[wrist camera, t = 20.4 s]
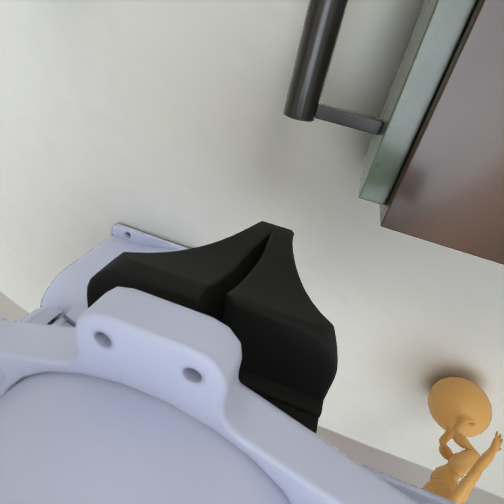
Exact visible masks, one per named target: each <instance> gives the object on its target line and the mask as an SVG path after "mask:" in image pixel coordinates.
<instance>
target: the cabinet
mask: <svg viewBox="0 0 504 504" xmlns="http://www.w3.org/2000/svg"><path fill="white" fill-rule="evenodd" d="M380 222H381V226H382V227H385V228H388V229H392V230H395V231H398V232H401V233H404V234H408V235H411V236H414V237H417V238H420V239H424V240H427V241H430V242H433V243H436V244H440V245H443V246H446V247H449V248H452V249H456V250H459V251H462V252H465V253H468V254H472V255H475V256H478V257H481V258H485V259H488V260H491V261H494V262H497V263H501V264H504V0H477V2H476V5H475V7H474V9H473V11H472V14H471V16H470V18H469V20H468V22H467V25H466V27H465V29H464V31H463V34H462V36H461V38H460V40H459V42H458V45H457V47H456V49H455V51H454V54H453V56H452V58H451V60H450V62H449V65H448V67H447V69H446V71H445V74H444V76H443V78H442V80H441V82H440V85H439V87H438V89H437V91H436V94H435V96H434V98H433V100H432V102H431V105H430V107H429V109H428V111H427V114H426V116H425V118H424V120H423V122H422V125H421V127H420V129H419V131H418V134H417V136H416V138H415V140H414V142H413V145H412V147H411V149H410V151H409V154H408V156H407V158H406V160H405V162H404V165H403V167H402V169H401V171H400V174H399V176H398V178H397V180H396V182H395V185H394V187H393V189H392V191H391V194H390V196H389V198H388V200H387V202H386V204H385V205H381V204H380Z"/></svg>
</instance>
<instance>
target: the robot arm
mask: <svg viewBox="0 0 504 504" xmlns="http://www.w3.org/2000/svg"><path fill="white" fill-rule="evenodd" d="M128 233H130V235H131V236H130V235H129V234H128ZM293 236H294V233H293V231H292V230H289V229H286V228H283V227H280V226H276V225H273V224H270V223H267V222H264V221H261V222H259V223H257V224H255V225H253V226H251V227H249V228H248V229H246V230H244V231H242V232H240V233H237V234H235V235H233V236H231V237H228V238H226V239H223V240H221V241H218V242H215V243H212V244H209V245H205V246H201V247H197V248H191V249H189V248H186V247H184V246H181V245H178V244H175V243H172V242H169V241H166V240H163V239H161V238H158V237H155V236H152V235H149V234H146V233H143V232H141V231H138V230H135V229H132V228H129V227H126V226H123V225H120V224H115V225H114V226H113V227H112V236H110V237H109V238H108V239H106V240H105V241H103V242H102V243H100V244H99V245H98V246H96V247H95V248H93V249H92V250H91V251H89V252H88V253H86V254H85V255H83V256H82V257H81V258H79V259H78V260H76V261H75V262H73V263H72V264H71V265H69V266H68V267H66V268H65V269H64V270H63V271H61V272H60V273H59V274H58V275H57V276H56V278H55V279H54V280H53V281H52V283H51V284H50V286H49V287H48V289H47V290H46V292H45V294H44V296H43V299H42V301H41V305H40V308H38V309H36V310H35V311H33V312H32V313H30V314H29V315H28V316H26V317H25V318H23V319H22V320H21V321H10V320H7V319H5V318H3V317H0V504H458V503H456V502H454V501H451V500H449V499H446V498H444V497H441V496H439V495H436V494H434V493H432V492H429V491H427V490H424V489H422V488H419V487H417V486H414V485H412V484H409V483H407V482H405V481H402V480H400V479H397V478H395V477H392V476H390V475H387V474H385V473H382V472H380V471H377V470H375V469H372V468H370V467H368V466H365V465H363V464H360V463H358V462H357V461H355V460H354V459H352V458H351V457H349V456H348V455H346V454H345V453H343V452H342V451H340V450H339V449H337V448H336V447H334V446H333V445H331V444H330V443H329V442H327V441H326V440H324V439H323V438H321V437H320V436H318V435H317V434H316V431H317V424H318V418H319V417H320V415H321V412H322V406H323V400H324V398H325V396H326V394H327V392H328V390H329V388H330V386H331V384H332V382H333V380H334V378H335V375H336V371H337V363H338V359H337V343H336V336H335V330H334V326H333V325H332V324H331V323H330V322H329V321H328V320H327V319H326V318H325V317H324V316H323V315H322V314H321V313H320V311H319V310H318V309H317V308H316V306H315V305H314V304H313V303H312V301H311V300H310V298H309V296H308V295H307V293H306V291H305V289H304V287H303V285H302V283H301V280H300V278H299V275H298V272H297V268H296V265H295V260H294V255H293V246H292V240H293Z"/></svg>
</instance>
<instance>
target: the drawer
mask: <svg viewBox="0 0 504 504" xmlns="http://www.w3.org/2000/svg"><path fill="white" fill-rule="evenodd" d="M347 2H348V0H310V2H309V6H308V10H307V14H306V19H305V23H304V27H303V31H302V36H301V40H300V44H299V48H298V53H297V57H296V61H295V65H294V69H293V74H292V78H291V82H290V86H289V91H288V95H287V99H286V103H285V107H284V112H283V113H284V115H286V116H288V117H290V118H293V119H296V120H300V121H306V122H311V121H314V118H317V119H321V120H324V121H328V122H332V123H335V124H339V125H343V126H346V127H350V128H354V129H357V130H361V131H365V132H368V133H372V134H373V136H372V139H371V142H370V144H369V147H368V150H367V152H366V155H365V157H364V160H363V163H362V173H361V182H360V191H359V198H362V199H365V200H368V201H372V202H375V203H378V204H381V205H385V204H386V202H387V200H388V198H389V196H390V194H391V191H392V189H393V187H394V185H395V182H396V180H397V178H398V176H399V174H400V171H401V169H402V167H403V165H404V162H405V160H406V158H407V156H408V154H409V151H410V149H411V147H412V145H413V142H414V140H415V138H416V136H417V134H418V131H419V129H420V127H421V125H422V122H423V120H424V118H425V116H426V114H427V111H428V109H429V107H430V105H431V102H432V100H433V98H434V96H435V94H436V91H437V89H438V87H439V85H440V82H441V80H442V78H443V76H444V74H445V71H446V69H447V67H448V65H449V62H450V60H451V58H452V56H453V54H454V51H455V49H456V47H457V45H458V42H459V40H460V38H461V36H462V34H463V31H464V29H465V27H466V25H467V22H468V20H469V18H470V16H471V14H472V11H473V9H474V7H475V5H476V2H477V0H425V1H424V3H423V6H422V8H421V11H420V14H419V16H418V19H417V22H416V24H415V27H414V29H413V32H412V35H411V37H410V40H409V42H408V45H407V48H406V50H405V53H404V55H403V58H402V61H401V63H400V66H399V69H398V71H397V74H396V76H395V79H394V82H393V84H392V87H391V89H390V92H389V95H388V97H387V100H386V103H385V105H384V108H383V110H382V113H381V116H380V118H379V119H378V118H374V117H370V116H366V115H363V114H359V113H355V112H351V111H348V110H344V109H340V108H336V107H333V106H329V105H325V104H321V103H320V104H319V101H320V97H321V94H322V90H323V87H324V83H325V80H326V76H327V73H328V69H329V66H330V62H331V59H332V55H333V52H334V48H335V45H336V41H337V38H338V34H339V31H340V27H341V24H342V20H343V17H344V13H345V9H346V6H347ZM318 104H319V105H318Z"/></svg>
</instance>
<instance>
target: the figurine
mask: <svg viewBox="0 0 504 504" xmlns="http://www.w3.org/2000/svg"><path fill="white" fill-rule="evenodd" d="M428 406H429V410H430V412H431V415H432V417H433V418H434V420H435V421H436V422H437V423H438V424H439V425H440V426H441V427H442V428H443V429H444V430H446V432H445V433H444V434H443V435H442V436H441V437H440V439H439V443H440V446H439V451H440V453H441V455H442V456H443V457H444V458H445V459H447V460H448V463H447V464H446V465H443V466H440V467H437V468H436V469H435V471H434V472H432V474H431V478H430V481H429V482H427V483H426V484H425V485H424V487H423V488H422V489H424V490H427V491H429V492H432V493H434V494H436V495H439V496H441V497H444V498H446V499H449V500H451V501H454V502H456V503H458V504H464V502H465V501H466V499H467V498H468V497H469V495H470V493H471V491H472V489H473V487H474V485H475V483H476V482H477V481H478V479H479V477H480V475H481V473H482V471H483V470H484V469H485V468H487V467H488V465H489V464H490V463H491V462H492V460H493V458H494V456H495V454H496V452H497V451H500V450H501V448H500V445H501V444H502V441H503V439H501V434H500V435H499V436H498V431H497V432H496V435H495V438H494V439H493V442H492V444H491V446H490V447H489V449H488V450H487V451H485V452H484V453H483V454H482V455H481V456H480V455H479V454H478V452H477V451H476V450H475V449H474V447H473V446H472V445H471V444H470V442H469V441H468V439H467V438H466V437H472V436H476V435H478V434H480V433H482V432H483V431H485V430H486V429H487V427H488V426H489V424H490V422H491V418H492V408H491V404H490V401H489V399H488V397H487V395H486V394H485V393H484V391H483V390H482V389H481V388H480V387H479V386H477V385H476V384H475V383H473V382H471V381H469V380H467V379H464V378H460V377H447V378H444V379H441V380H439V381H438V382H436V383H435V384H434V385H433V387H432V388H431V390H430V392H429V396H428ZM451 438H453V439H454V441H455V442H456V443H457V444H458V445H459V446H461V447H462V448H465V449H466V450H463V451H461V452H459V453H454V454H453V453H452V451H451V449H450V448H449V447H448V446H447V445H446V443H447V442H448V441H449V440H450V439H451ZM500 439H501V440H500ZM467 473H468V474H467ZM464 474H467V475H466V476H465V477H464V478H463V479H462V480H461V481H460V483H459V484H458V485H457V480H458V478H461V477H463V476H464Z"/></svg>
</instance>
